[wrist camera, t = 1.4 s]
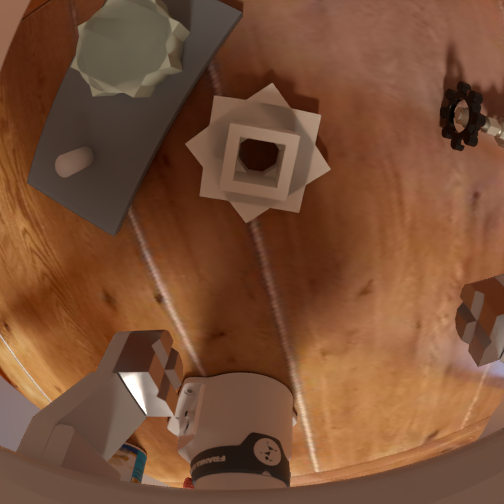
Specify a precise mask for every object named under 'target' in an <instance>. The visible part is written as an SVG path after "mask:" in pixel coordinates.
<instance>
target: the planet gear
mask: <svg viewBox="0 0 504 504" xmlns="http://www.w3.org/2000/svg"><path fill="white" fill-rule="evenodd" d="M320 119H321V115H319V114H315V113H310V112H306V111H301V110H297V109H292V108H290V107H289V105H288V104H287V102H286V101H285V99H284V98H283V97H282V95H281V94H280V92H279V91H278V90H277V88H276V87H275V86H274V84H273V83H271V84H270V85H268V86H267V87H265V88H263V89H262V90H260V91H259V92H257V93H256V94H254V95H253V96H251V97H250V98H248V99H247V100H243V99H237V98H230V97H222V96H215V95H214V100H213V106H212V112H211V118H210V125H209V126H208V127H207V128H205V129H204V130H203V131H201V132H200V133H199V134H197V135H196V136H195V137H193V138H192V139H191V140H189V141H188V142H187V143H185V145H186V146H187V147H188V149H189V150H190V151H191V153H192V154H193V155H194V156H195V158H196V159H197V160H198V162H199V163H200V164H201V165H202V167H203V173H202V180H201V188H200V196H201V197H208V198H214V199H221V200H227V201H229V202H230V203H231V204H232V206H233V207H234V208H235V210H236V211H237V212H238V214H239V215H240V216H241V218H242V219H243V220H244V221H245V223H247V222H249V221H251V220H252V219H254V218H255V217H257V216H258V215H260V214H261V213H263V212H265V211H266V210H268V209H269V208H274V209H280V210H285V211H291V212H296V213H299V211H300V207H301V203H302V198H303V194H304V190H305V186H306V185H307V184H308V183H310V182H312V181H313V180H315V179H316V178H318V177H320V176H321V175H323V174H324V173H326V172H328V171H329V170H331V169H330V168H329V166H328V164H327V163H326V161H325V160H324V158H323V156H322V155H321V153H320V152H319V150H318V148H317V147H316V145H315V142H316V137H317V133H318V128H319V124H320ZM248 138H250V139H256V140H261V141H267V142H272V143H275V144H276V146H277V147H278V149H279V150H278V155H277V160H276V163H275V164H274V165H272V166H271V167H269V168H268V169H266V170H265V171H263V172H262V171H256V170H251V169H247V168H246V166H245V165H244V164H243V162H242V161H241V160H240V158H239V157H238V156H239V150H240V144H241V143H242V142H243V141H245V140H246V139H248Z"/></svg>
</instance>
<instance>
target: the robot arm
mask: <svg viewBox="0 0 504 504" xmlns="http://www.w3.org/2000/svg"><path fill="white" fill-rule="evenodd" d="M460 298H461V300H462V301H463V302H462V304H461V305H460V306H459V308H458V309H457V313H456V317H455V322H456V330H457V332H458V335H459V337H460V338H461V340H462V341H464V342H466V343H468V344H469V350H468V351H469V353H470V354H471V356H472V358H473V359H474V361H475V363H476V364H477V366H478V367H479V366H482V365H485V364H488V363H491V362H494V361H497V360H499V359H500V361H501V362H503V363H504V274H501V275H497V276H494V277H491V278H488V279H484V280H480V281H477V282H473V283H469V284H465V285H464V287H463V288H462V291H461V295H460ZM172 344H173V339H172V337H171V335H170V332H169V331H167V330H147V331H126V332H117V333H116V334H114V336H113V338H112V340H111V342H110V344H109V346H108V348H107V350H106V352H105V354H104V356H103V358H102V360H101V362H100V364H99V366H98V368H97V370H96V372H91V373H89V374H88V375H87V376H86V377H84V378H83V379H82V380H80V381H79V382H78V383H76V384H75V385H74V386H72V387H71V388H70V389H69V390H67V391H66V392H65V393H63V394H62V395H61V396H59V397H58V398H57V399H55V400H54V401H53V402H52V403H50V404H49V405H48V406H46V407H45V408H44V409H42V410H41V411H40V412H38V413H37V414H36V415H35V416H33V418H32V420H31V422H30V424H29V426H28V428H27V430H26V432H25V434H24V436H23V438H22V440H21V442H20V445H19V447H18V449H17V451H16V452H15V451H12V450H10V449H7V448H5V447H2V446H0V504H504V428H502V429H500V430H498V431H496V432H494V433H492V434H490V435H487V436H485V437H483V438H481V439H478V440H476V441H474V442H471V443H469V444H466V445H464V446H462V447H459V448H456V449H454V450H451V451H448V452H446V453H443V454H440V455H437V456H434V457H431V458H428V459H425V460H422V461H419V462H416V463H412V464H409V465H406V466H402V467H398V468H395V469H391V470H387V471H383V472H379V473H374V474H370V475H366V476H361V477H356V478H351V479H345V480H340V481H334V482H327V483H320V484H313V485H305V486H296V487H290V478H291V472H290V468H289V461H290V459H291V456H292V434H293V426H294V425H296V423H297V416H296V414H295V413H294V411H293V396H292V394H291V392H290V390H289V389H288V388H287V387H286V386H285V385H283V384H282V383H280V382H279V381H277V380H275V379H273V378H270V377H267V376H264V375H259V374H254V373H227V374H222V375H218V376H214V377H208V378H205V377H188V378H186V379H185V380H184V382H183V384H182V380H183V364H182V360H181V357H180V355H179V352H177V351H176V350H174V349H173V348H172ZM181 385H182V387H181V390H180V392H179V395H177V393H176V391H175V390H177V389H178V388H179V387H180V386H181ZM146 416H170V418H169V420H168V424H167V428H168V430H169V431H171V432H172V433H173V434H175V435H176V436H178V437H179V440H178V447H177V451H178V453H179V454H180V456H182V457H183V458H184V459H185V460H186V461H187V462H189V463H190V466H191V470H190V475H191V477H192V478H189V477H187V478H186V479H185V481H184V484H183V488H175V487H164V486H155V485H147V484H140V483H133V482H127V481H121V480H120V478H121V475H120V473H119V471H118V470H116V469H115V468H114V467H113V466H112V465H111V464H110V463H109V462H108V461H109V459H110V458H111V457H112V456H113V455H114V454H115V453H116V452H117V451H118V449H119V448H120V447H121V446H122V445H123V444H124V443H125V442H126V440H127V439H128V438H129V437H130V436H131V435H132V434H133V433H134V431H135V430H136V429H137V428H138V427H139V426H140V425H141V423H142V422H143V421H144V420H145V419H146Z"/></svg>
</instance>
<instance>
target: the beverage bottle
mask: <svg viewBox="0 0 504 504" xmlns="http://www.w3.org/2000/svg"><path fill="white" fill-rule="evenodd" d="M146 459H147V455H146V453H145V452H144V451H143V450H142V449H140V448H139V447H137V446H135V445H133V444H130V443H127V442H125V443H124V444H123V445H122V446H121V447H120V448H119V449H118V451H117V452H116V453H115V454H114V455H113V456H112V457H111V458H110V459H109V461H108V462H109V463H110V464H111V465H112V466H113V467H114V468H115V469H116V470H118V471H119V473H120V475H121V478H120V480H121V481H127V482H133V483H140V484H141V481H142V476H143V472H144V467H145V463H146Z"/></svg>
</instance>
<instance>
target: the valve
mask: <svg viewBox="0 0 504 504" xmlns="http://www.w3.org/2000/svg"><path fill="white" fill-rule="evenodd" d="M457 90H458V92H457V91H455V90H452V89H448V90H447V91H446V98H447V99H448V100H449V104H448V107H447V108H445V107H442V108H441V109H440V116H441V117H442V118H445V119H446V127H443V129H442V136H443V137H444V138H447V139H452V140H451V147H452V149H454V150H458V151H462V150H463V149H464V146H463V145H461V140H463V141H464V143H465V144H466V145H469V146H472V147H475V146H476V145H477V143H478V138H477V136H478V131H479V130H480V129H481V132H484V133H487V134H490V135H493V136H494V138H495V140H496V142H497V143H498V146H500V147H503V148H504V117H500V118H499V119H497V120H496V119H493V118H491V117H488V116H484V115H482V114H481V113H480V111H481V105H480V103H482V101H483V97H482V94H481V93H478V92H476V91H473V90H471V87H470V85H469V84H467V83H464V82H462V81H460V82H458V84H457ZM467 90H471V91H470V92H469V93H468V95H467ZM461 100H465V101H466V103H467V105H468V108H461V107H458V108H457V109H456V112H455V113H454V110H455V107H456V105H457V104H458V103H459V101H461ZM453 118H455V121H456V123H458V124H461V125H462V126H463V127H464V128H465V129H464V130H463V131H462V132H460V133H458V132H457V130H456V129H455V126H454V121H453Z"/></svg>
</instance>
